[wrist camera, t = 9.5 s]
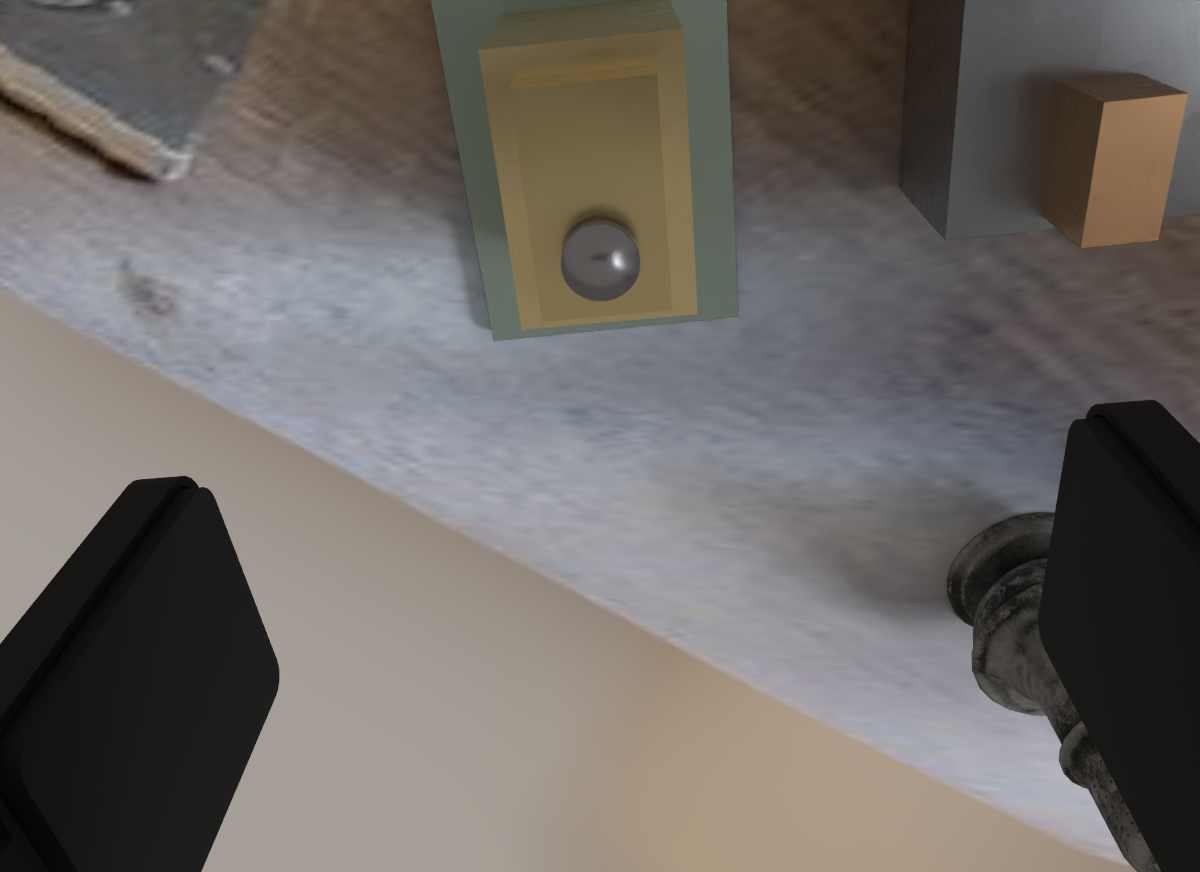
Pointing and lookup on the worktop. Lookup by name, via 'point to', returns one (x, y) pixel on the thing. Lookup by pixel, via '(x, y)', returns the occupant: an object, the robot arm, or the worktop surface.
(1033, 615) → the salt shaker
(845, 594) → the worktop surface
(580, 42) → the lever cap
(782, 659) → the worktop surface
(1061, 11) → the body
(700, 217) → the mat
